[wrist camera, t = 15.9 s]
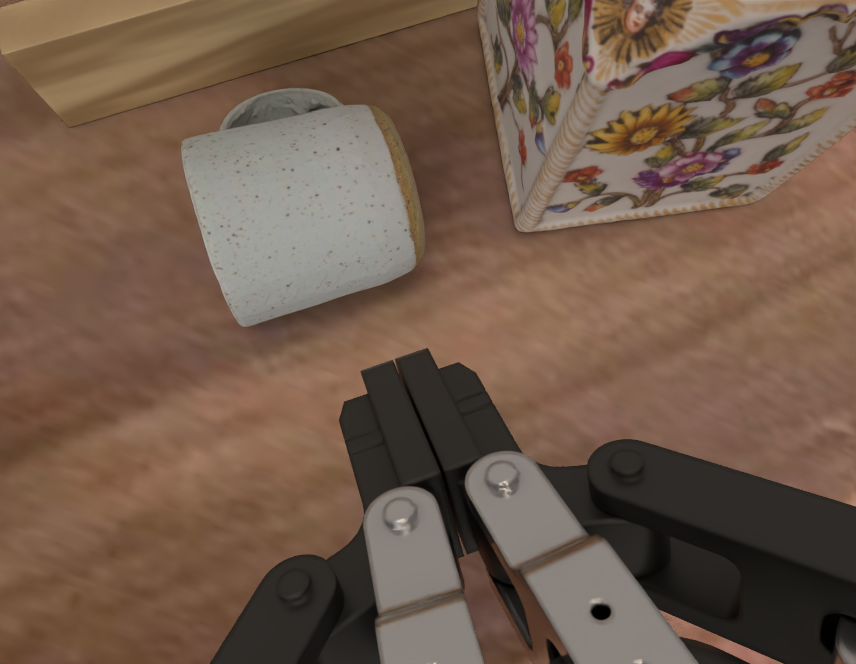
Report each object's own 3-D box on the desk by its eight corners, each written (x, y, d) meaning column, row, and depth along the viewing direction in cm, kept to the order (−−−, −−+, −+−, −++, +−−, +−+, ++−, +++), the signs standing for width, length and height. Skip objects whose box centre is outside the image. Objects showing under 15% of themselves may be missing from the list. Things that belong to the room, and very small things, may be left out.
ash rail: (477, 6, 36) (492, -86, 31) (69, 128, 34) (1, 54, 29) (463, -29, 37) (475, -126, 31) (58, 90, 35) (-11, 9, 29)
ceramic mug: (432, 288, 33) (440, 227, 26) (254, 346, 33) (210, 301, 25) (357, 83, 36) (346, -28, 28) (188, 133, 35) (130, 32, 27)
